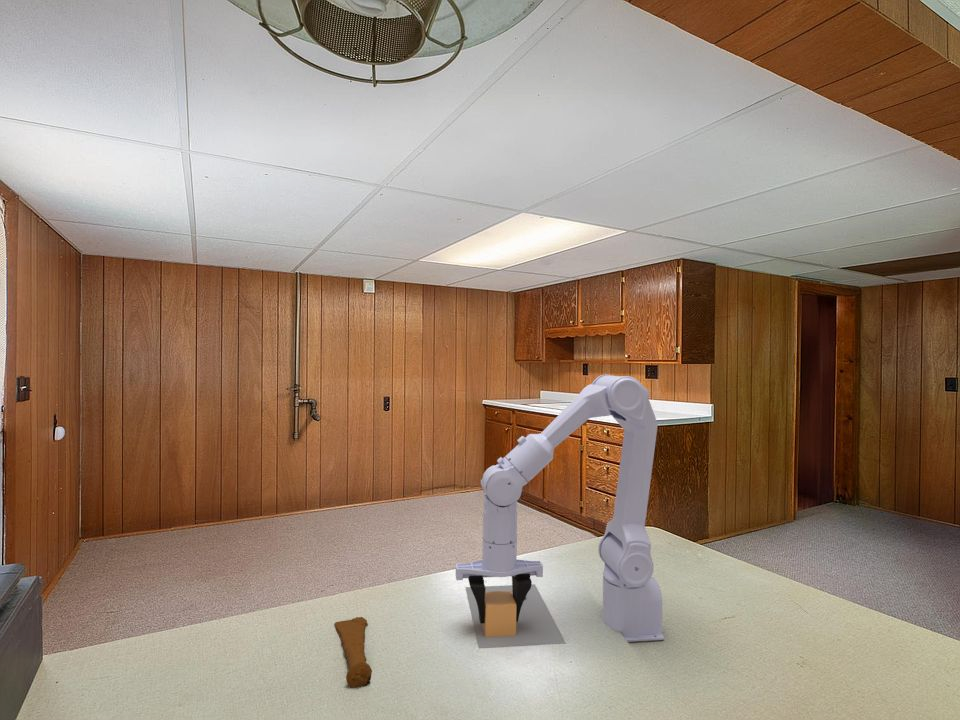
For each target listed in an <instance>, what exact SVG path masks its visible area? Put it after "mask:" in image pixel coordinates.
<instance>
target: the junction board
mask: <svg viewBox="0 0 960 720" xmlns="http://www.w3.org/2000/svg"><path fill="white" fill-rule="evenodd" d="M485 588H486V589H485V592H493V591H511V593H512V595H513V592H512V584H511V585H510V584H509V585H489V586H486V585H485ZM539 591H540V590H538V588H537V585H536V584H534V583H532V585H531V588H530V590H529V592H528V593H527V595H526V597H525V599H524V601H523V604H522V607H521V610H520V614H519V619H518V622H516V635H513V636H495V637H485V633H484V629H483V625H482V624H481V623H480V620H479V611H478V605H477V602H476V599H475V597H474V594H473V592H472V590H471V587H470V586H465V592H466V596H467V597H466V598H467V601H468V605H469V610H470V615H471V619H472V624H473V629H474V632H475V638H476V642H477V647H478V649H493V648H509V647H510V648H511V647H527V646H530V647H531V646H541V645H560V644H567V643H566V641H565V639H564V637H563V635H562V633H561V631H560V629H559V627H558V625H557V623H556V622H555V620H554V618H553V616H552V614H551V612H550V610H549V608H548V606H547V604H546V603H545V601H544V599H543V596H542V595H541V593H540V592H539Z"/></svg>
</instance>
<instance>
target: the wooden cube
mask: <svg viewBox="0 0 960 720" xmlns="http://www.w3.org/2000/svg"><path fill="white" fill-rule="evenodd" d="M484 609H485V623H483V624H482V625H483V629H484V633H485V637H495V636H513V635H516V602H515V600H514V598H513V595H512V593H511V591H493V592H485V601H484Z"/></svg>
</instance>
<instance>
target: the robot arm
mask: <svg viewBox="0 0 960 720" xmlns="http://www.w3.org/2000/svg"><path fill="white" fill-rule="evenodd" d="M649 399H650V391H649V390H648V389H647V387H646V386H644V385H643V384H642V383H641V381H640V380H638V379H637V378H636V377H633V376H629V375H625V376H624V375H623V376H621V375H620V376H619V375H613V374H608V373H607V374H601V375H599V376H597V377H596V378H595V379H594V380H593V382H592V383H590V384H588V385H586V386H585V387H584V388H583V389H582V390H581V391H580V392H579V393H578V394H577V396H576V397H575V398H574V399H573V400H572V401H571V402H570V403H569V404H568V405H567V406H566V407H565V408H564V409H563V410H561V412H559V414H558V415H557V416H556V417H555V418H554V419H553V420H552V421H551V422H550V423H549V424H548V425H547V427H546V428H545V429H543V430H542V431H541V433H529V434H527V436H526V437H525V436H524V435H521V436H520V437H519V438H518V439H517V443H518V444H517V445H516V446H515V447H514V448H512V449H511V450H510V451H509V452H508V453H507V454H506V455H505V456H504V457H502V456H500V457H499V458H498V459H497V460H496V462H497V464H496V465H494V464H493V465H491V466H490V467H488V468H487V469H486V470H485V471H484V473H483V474H482V478H481V479H480V486H481V488H482V490H483V492H484V493H485V494H484V495H483V496H484V498H483V511H482V554H481V555H482V559H480V560H475V561H470V562H465V563H464V562H463V563H456V564H455V580H456V581H463V579H468V583H469V587H471V590H472V592H473V594H474V597H475V599H476V602H477V605H478V611H479V620H480V623H481V624H483V623H485V609H484V601H485V589H486V588H485V586H486V585H485V579H484V578H506V577H507V578H508V577H509V578H510V577H511V585H512V592H513V598H514V600H515V602H516V622H518V619H519V614H520V610H521V607H522V604H523V601H524V599H525V597H526V595H527V593H528V592H529V590H530V588H531V585H532V584H533V582H532V579H531V576H532V577H533V576H535V577H536V578H543V577H544V566H543V565H544V564H543V563H542V562H541V560H537V561H536V560H526V559H517V556H518V555H517V551H518V549H517V546H518V544H517V543H518V538H517V537H518V535H517V533H518V532H517V531H518V511H517V502H518V500H519V499H520V498H521V496H522V492H523V487H524V486H526V485H527V484H528V483H530V481H531V480H533V479H534V478H535V476H537V475H538V474H539V473H540V472H541V471H542V470H543V469H545V467H546V466H547V465H548V464H549V463H551V461H553V460H554V450H555V448H556V447H558V446H559V444H561V443H562V442H563V441H565V440H566V439H567V438H568V437H569V436H570V435H571V434H573V433H574V432H575V431H576V430H577V429H579V428H580V427H581V426H582V425H584V423H585V422H587V421H588V420H589V419H591V418H601V417H608V416H612V418H613V419H614V420H615V421H616V423H618V424H619V426H620V427H621V428H622V429H623V438H622V446H621V447H622V448H621V453H620V462H619V468H618V469H619V470H618V477H617V485H616V492H615V500H614V501H615V502H614V509H613V516H612V519H611V520H609V521H608V522H607V524H606V526H605V531H604V535H602V538H601V539H600V541H599V543H598V548H597V549H598V551H597V552H598V555H599V558H600V559H601V561H602V562H603V564H604V567H603V568H604V569H603V571H602V610H601V611H602V614H601V615H602V622H603V624H605V625H606V627H608V628H609V629H612V630H614V631H617V632H619V633H620V634H621V635H622V637H623V638H624V639H625V641H626V642H628V643H629V642H630V643H632V642H646V641H647V642H648V641H649V642H650V641H663V640H665V636H664V634H663V596H662V589H661V587H660V584H659V582H658V581H657V580H656V578H655V577H653V573H654V566H655V565H654V561H653V559H652V555H651V549H652V542H651V540H650V538H649V534H648V532H647V529H646V520H647V512H648V511H647V510H648V503H649V497H650V488H651V487H650V486H651V482H652V481H651V480H652V473H653V465H654V459H655V457H654V456H655V448H656V442H657V441H656V440H657V433H658V421H657V417H656V415H655V412H654V410H653V407H652V404H651V402H650V400H649Z"/></svg>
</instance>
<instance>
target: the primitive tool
mask: <svg viewBox="0 0 960 720" xmlns="http://www.w3.org/2000/svg"><path fill="white" fill-rule="evenodd" d="M333 625H334V628H335V630H336V633H337V635H338V636H339V639H340V642H341V643H340V644H341V645H342V648H343V652H344V654H345V657H346V661H347V665H348V671H347V673H346V676H345V679H346V683H347V685H348V686H349V687H350V688H361V686H362V687H363V686H367V684H368V683H369V682H370V681H371V679H372V672H373V670H372V667H371V666H370V664H369V663H367V657H366V655H365V654H366V653H365V641H366V628H367V627H368V626H369V623H368V621H367V619H366V618H365V617H363V616H358V617H357V616H356V617H355V618H351V619H346V620H339V621H336V622H335V623H333ZM358 686H359V687H358Z"/></svg>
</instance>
